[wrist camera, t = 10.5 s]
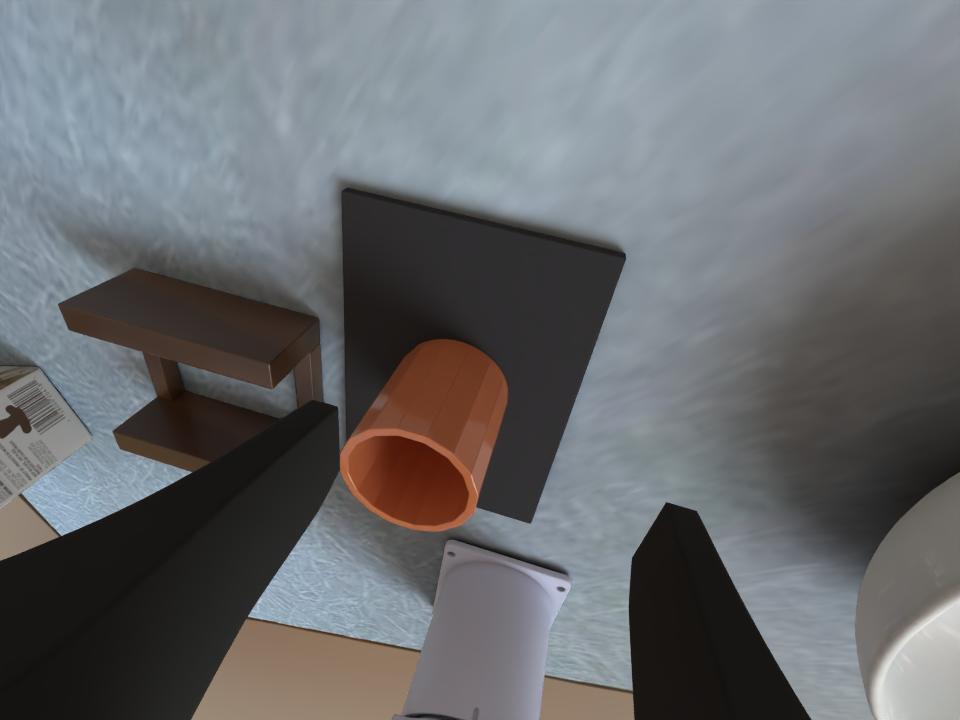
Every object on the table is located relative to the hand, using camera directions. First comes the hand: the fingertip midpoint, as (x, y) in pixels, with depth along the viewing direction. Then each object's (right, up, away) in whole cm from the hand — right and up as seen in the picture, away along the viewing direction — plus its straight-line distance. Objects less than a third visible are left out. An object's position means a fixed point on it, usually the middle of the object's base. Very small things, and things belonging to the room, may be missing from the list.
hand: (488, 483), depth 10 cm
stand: (-13, +2, +15) cm, 20 cm away
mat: (-1, +2, +12) cm, 12 cm away
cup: (-1, +1, +12) cm, 12 cm away
